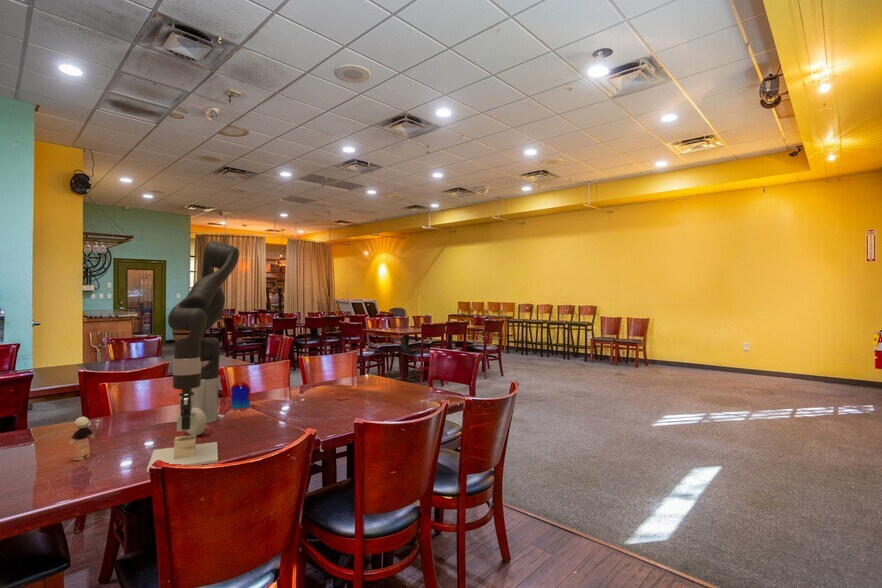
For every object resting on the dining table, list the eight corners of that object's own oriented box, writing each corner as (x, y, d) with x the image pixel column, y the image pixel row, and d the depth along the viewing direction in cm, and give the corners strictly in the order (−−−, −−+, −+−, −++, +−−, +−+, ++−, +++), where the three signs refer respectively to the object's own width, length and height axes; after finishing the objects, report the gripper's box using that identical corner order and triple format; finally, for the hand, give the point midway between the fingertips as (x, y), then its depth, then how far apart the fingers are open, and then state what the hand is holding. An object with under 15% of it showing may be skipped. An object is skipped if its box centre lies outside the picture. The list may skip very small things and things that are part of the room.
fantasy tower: (219, 410, 192) (220, 383, 192) (236, 404, 203) (237, 378, 203) (244, 412, 190) (245, 384, 190) (260, 405, 201) (260, 379, 202)
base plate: (153, 452, 140) (153, 449, 140) (217, 444, 149) (217, 441, 149) (146, 472, 124) (146, 469, 124) (217, 462, 133) (217, 459, 133)
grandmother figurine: (83, 454, 138) (84, 413, 138) (96, 454, 138) (97, 413, 138) (64, 463, 130) (65, 420, 130) (78, 463, 130) (79, 420, 130)
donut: (208, 436, 157) (209, 408, 157) (199, 438, 154) (200, 410, 154) (189, 432, 161) (190, 404, 161) (180, 434, 158) (181, 407, 158)
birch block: (175, 453, 138) (175, 437, 138) (195, 450, 140) (195, 434, 140) (173, 459, 133) (174, 442, 133) (194, 456, 135) (195, 439, 135)
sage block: (177, 427, 137) (177, 414, 137) (194, 425, 140) (195, 412, 140) (176, 431, 133) (177, 418, 133) (195, 429, 136) (195, 416, 136)
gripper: (200, 374, 132) (199, 431, 132) (201, 368, 145) (200, 419, 145) (171, 376, 129) (170, 435, 128) (174, 369, 141) (173, 422, 141)
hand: (186, 426), depth 136 cm, fingers closed on sage block, 4 cm apart
